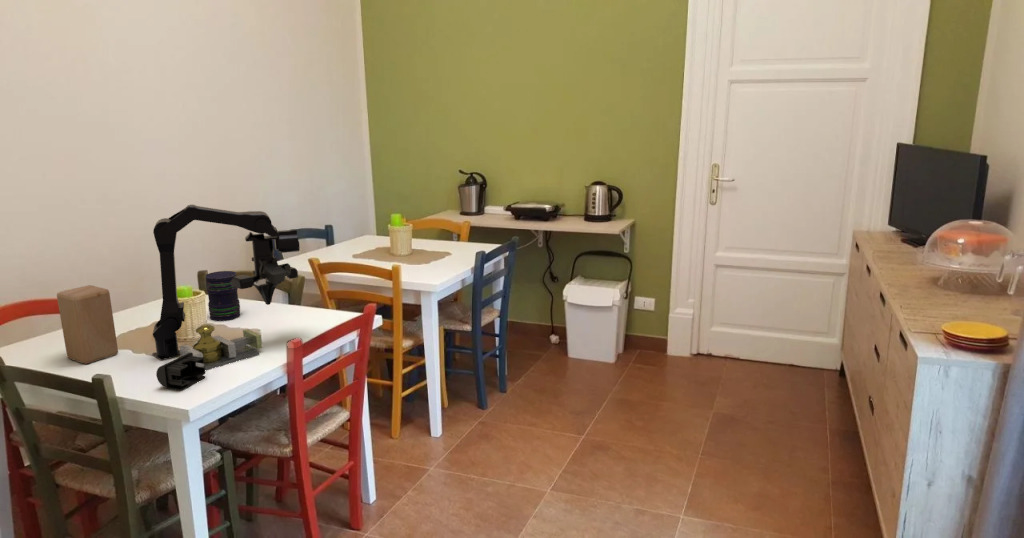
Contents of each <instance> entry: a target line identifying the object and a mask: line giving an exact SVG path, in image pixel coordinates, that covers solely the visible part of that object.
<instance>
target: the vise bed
mask: <svg viewBox="0 0 1024 538" xmlns="http://www.w3.org/2000/svg"><path fill="white" fill-rule="evenodd" d="M178 348H179V350H180V355H179V356H180V357H181V356H183V355H185V354H187V353H193V356H195V357H202V358H203V353H201V352H199V351H198V350H196V349H194V348H193V346H190V345H188V344H183V345H180V346H179V345H178ZM235 349H236V357H233V358H228V357H226V356H224V355H222V357H221V358H220V359H219V360H216V361H213V362H207V363H204V364H203V363H196V366H198V367H205V370H206V371H208V370H212V368H213V369H216V368H219V366H220V367H223V366H227V365H230V364H233V363H236V361H237V362H240V361H243V360H247V359H250V358H253V357H257V356H260V351H259V350H258V349H256V348H254V347H252V346H250V345H245V346H241V347H238V348H235ZM246 358H247V359H246ZM239 360H240V361H239ZM229 363H230V364H229ZM215 367H216V368H215Z"/></svg>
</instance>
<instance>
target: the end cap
mask: <svg viewBox="0 0 1024 538" xmlns="http://www.w3.org/2000/svg"><path fill="white" fill-rule="evenodd" d="M196 363H203V364H204V363H205V362H204V358H202V357H195V356H193V353H187V354H185V355H183V356H181V355H180V356H179V357H177V358H175V359H173V360H171V361H168V362H166V363H164V364H162V365H161V366H160V365H159V367H158V368H157V369H156V374H155V375H156V379H157V381H158V383H159V384H160V385H161V386H162V387H164V388H166V389H167V390H171V391H176V392H183V391H185V390H187V389H189V388H190V387H192V386H194V385H196V384H197V382H198V383H200V382H202V381H203V380H205V379H206V376H205V374H206V372H207V370H206V371H205V367H198V366H196ZM199 381H200V382H199Z"/></svg>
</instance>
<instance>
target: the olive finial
mask: <svg viewBox="0 0 1024 538" xmlns="http://www.w3.org/2000/svg"><path fill="white" fill-rule="evenodd" d="M215 330H216V328H215V326H214V325H211V324H207V323H204V324H201V325H200V326H198V327H197V328H195V332H196V334H199V335H200V337H199V339H198V340H197V341H195V342H194V343H193V345H192V348H194V349H196V350H198V351H199V352H201V353H203V358H204V362H205V363H207V362H213V361H216V360H219V359H220V358H221V357H222V349H221V348H220V347H221V342H220V341H219V340H217V339H215V338H214V336H213V335H212V333H213V332H214V331H215Z"/></svg>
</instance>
